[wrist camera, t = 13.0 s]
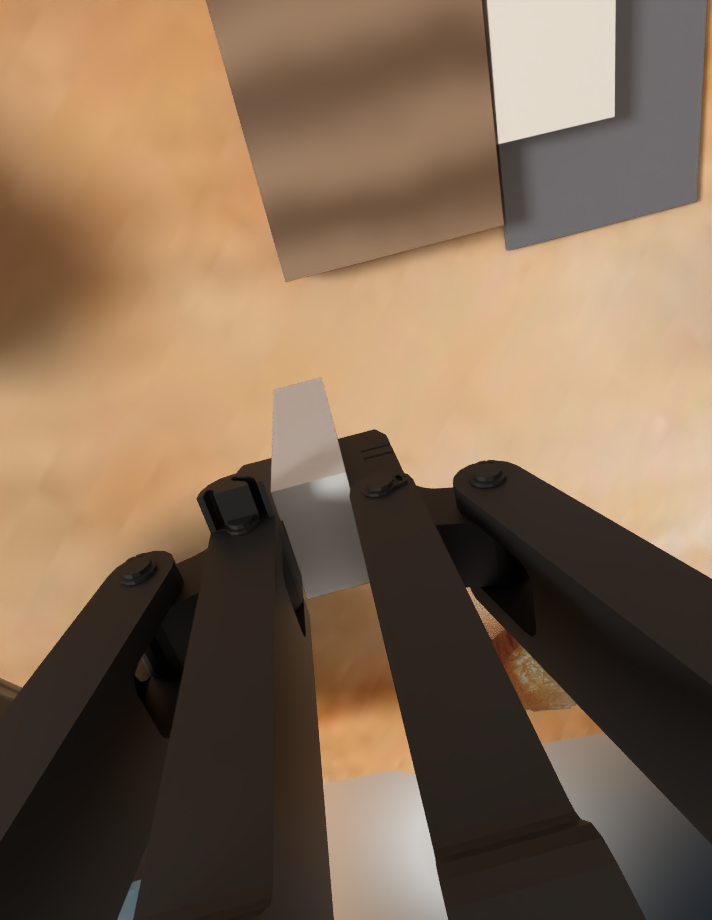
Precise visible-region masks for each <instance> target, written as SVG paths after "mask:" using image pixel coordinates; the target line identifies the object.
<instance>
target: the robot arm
mask: <svg viewBox="0 0 712 920" xmlns="http://www.w3.org/2000/svg"><path fill="white" fill-rule="evenodd" d="M196 499H197V501H198V503H199V506H200V508H201V511H202V513H203V515H204V518H205V520H206V523H207V525H208V527H209V530H210V532H211V535H210V540H209V545H208V549H206V550H205V551H203V552H201V553H199V554H197V555H196V556H194V557H191V558H189V559H187V560H185V561H183V562H180V563H178V564H176V563H175V561H174V558H173V556H172V554H170V553H168V552H166V551H152V552H148V553H142V554H139V555H136V557H132V558H130V559H128V560H127V561H126V562H125V563H123V564H122V565H120V566H119V567H117V568H116V569H115V570H114V571H113V572H112V573H111V574H110V575H109V576H108V577H107V578H106V580H105V581H104V582H103V584H102V585H101V586H100V588H99V589H98V590H97V591H96V593H95V594H94V595H93V597H92V598H91V599H90V601H89V602H88V603H87V605H86V606H85V607H84V608H83V610H82V611H81V612H80V614H79V615H78V616H77V618H76V619H75V620H74V621H73V623H72V624H71V625H70V627H69V628H68V629H67V631H66V632H65V633H64V634H63V636H62V637H61V638H60V640H59V641H58V642H57V644H56V645H55V646H54V647H53V649H52V650H51V651H50V653H49V654H48V655H47V657H46V658H45V659H44V660H43V662H42V663H41V664H40V666H39V667H38V668H37V670H36V671H35V672H34V674H33V675H32V676H31V677H30V679H29V680H28V681H27V683H26V684H25V685H24V687H23V688H22V687H20V686H17V685H15V684H13V683H10V682H8V681H6V680H3V679H1V678H0V920H334V917H333V904H332V892H331V879H330V867H329V854H328V842H327V831H326V830H327V829H326V817H325V805H324V792H323V779H322V767H321V754H320V742H319V729H318V717H317V704H316V692H315V679H314V667H313V654H312V642H311V629H310V617H309V612H308V610H307V607H306V604H305V601H304V598H303V589H302V585H303V588H304V590H305V593H306V596H307V599H311V598H315V597H318V596H322V595H326V594H329V593H333V592H337V591H341V590H344V589H348V588H352V587H355V586H359V585H363V584H367V583H370V585H371V589H372V594H373V598H374V602H375V606H376V610H377V615H378V619H379V623H380V627H381V631H382V635H383V640H384V644H385V648H386V652H387V656H388V661H389V665H390V669H391V673H392V677H393V682H394V686H395V690H396V694H397V698H398V703H399V707H400V711H401V715H402V719H403V723H404V728H405V732H406V736H407V740H408V744H409V749H410V753H411V757H412V761H413V765H414V770H415V774H416V778H417V782H418V786H419V790H420V795H421V799H422V803H423V807H424V811H425V816H426V820H427V823H428V828H429V832H430V837H431V841H432V845H433V849H434V854H435V859H436V867H437V872H438V877H439V881H440V886H441V890H442V895H443V899H444V903H445V907H446V912H447V916H448V920H646V919H645V917H644V915H643V912H642V911H641V909H640V907H639V905H638V903H637V901H636V899H635V897H634V895H633V893H632V891H631V889H630V887H629V885H628V883H627V881H626V880H625V877H624V875H623V874H622V872H621V870H620V868H619V866H618V864H617V862H616V860H615V859H614V857H613V855H612V853H611V851H610V850H609V848H608V846H607V844H606V843H605V841H604V839H603V837H602V836H601V835H600V834H599V832H598V831H597V829H596V828H595V827H594V826H593V824H592V823H591V822H588V821H585V820H582V819H580V817H579V816H578V815H577V813H576V812H575V811H574V809H573V807H572V805H571V803H570V801H569V799H568V798H567V795H566V793H565V791H564V790H563V787H562V785H561V783H560V781H559V779H558V777H557V775H556V773H555V771H554V769H553V767H552V764H551V762H550V761H549V759H548V756H547V754H546V752H545V750H544V748H543V746H542V744H541V742H540V740H539V738H538V736H537V734H536V732H535V729H534V727H533V725H532V723H531V721H530V719H529V717H528V715H527V713H526V711H525V709H524V707H523V705H522V703H521V701H520V699H519V697H518V695H517V692H516V690H515V688H514V686H513V684H512V682H511V680H510V678H509V676H508V674H507V672H506V670H505V668H504V666H503V664H502V662H501V660H500V657H499V655H498V653H497V651H496V649H495V647H494V645H493V643H492V641H491V639H490V637H489V635H488V633H487V631H486V629H485V627H484V625H483V623H482V620H481V618H480V616H479V614H478V612H477V610H476V608H475V606H474V604H473V602H472V600H471V598H470V596H469V594H468V592H467V590H466V588H465V587H471V591H472V593H473V595H474V596H475V598H476V599H477V600H478V601H479V602H480V603H481V604H482V605H483V606H484V607H485V608H486V609H487V611H488V612H489V613H490V614H491V615H492V616H493V617H494V618H495V619H496V620H497V621H498V622H499V623H500V624H501V625H502V626H503V627H504V628H505V629H506V630H507V631H508V632H509V633H510V635H511V636H512V637H513V638H514V639H515V640H516V641H517V642H518V643H519V644H520V645H521V646H522V647H523V648H524V649H525V650H526V651H527V652H528V653H529V654H530V655H531V656H532V657H533V659H534V660H535V661H536V662H537V663H538V664H539V665H540V666H541V667H542V668H543V669H544V670H545V671H546V672H547V673H548V674H549V675H550V676H551V677H552V678H553V679H554V680H555V681H556V683H557V684H558V685H559V686H560V687H561V688H562V689H563V690H564V691H565V692H566V693H567V694H568V695H569V696H570V697H571V698H572V699H573V700H574V701H575V702H576V703H577V704H578V705H579V707H580V708H581V709H582V710H583V711H584V712H585V713H586V714H587V715H588V716H589V717H590V718H591V719H592V720H593V721H594V722H595V723H596V724H597V725H598V726H599V727H600V728H601V729H602V731H603V732H604V733H605V734H606V735H607V736H608V737H609V738H610V739H611V740H612V741H613V742H614V743H615V744H616V745H617V746H618V747H619V748H620V749H621V750H622V751H623V752H624V753H625V755H627V757H628V758H629V759H630V760H631V761H632V762H633V763H634V764H635V765H636V766H637V767H638V768H639V769H640V770H641V771H642V772H643V773H644V774H645V775H646V776H647V777H648V778H649V780H650V781H651V782H652V783H653V784H654V785H655V786H656V787H657V788H658V789H659V790H660V791H661V792H662V793H663V794H664V795H665V796H666V797H667V798H668V799H669V800H670V802H671V803H672V804H673V805H674V806H675V807H676V808H677V809H678V810H679V811H680V812H681V813H682V814H683V815H684V816H685V817H686V818H687V819H688V820H689V821H690V822H691V823H692V824H693V826H694V827H696V829H698V831H699V832H700V833H701V834H702V835H703V836H704V837H705V838H706V839H707V840H708V841H709V842H710V843H711V844H712V579H711V578H709V577H708V576H706V575H704V574H702V573H701V572H699V571H697V570H696V569H694V568H692V567H690V566H689V565H687V564H685V563H684V562H682V561H680V560H678V559H677V558H675V557H673V556H672V555H670V554H668V553H666V552H665V551H663V550H661V549H660V548H658V547H656V546H654V545H653V544H651V543H649V542H648V541H646V540H644V539H642V538H641V537H639V536H637V535H636V534H634V533H632V532H630V531H629V530H627V529H625V528H624V527H622V526H620V525H618V524H617V523H615V522H613V521H612V520H610V519H608V518H606V517H605V516H603V515H601V514H600V513H598V512H596V511H594V510H593V509H591V508H589V507H587V506H586V505H584V504H582V503H581V502H579V501H577V500H575V499H574V498H572V497H570V496H569V495H567V494H565V493H563V492H562V491H560V490H558V489H557V488H555V487H553V486H551V485H550V484H548V483H546V482H545V481H543V480H541V479H539V478H538V477H536V476H534V475H533V474H531V473H529V472H527V471H526V470H524V469H522V468H521V467H519V466H517V465H514V464H512V463H509V462H504V461H495V460H487V461H480V462H478V463H475V464H472V465H469V466H467V467H465V468H463V469H461V470H460V471H459V472H458V473H457V474H456V475H455V476H454V479H453V488H438V489H430V488H422V487H419V486H416V485H415V483H414V481H413V479H412V478H411V477H410V476H409V475H408V474H405V473H404V472H403V470H402V468H401V466H400V463H399V461H398V459H397V457H396V455H395V453H394V451H393V449H392V447H391V445H390V442H389V440H388V438H387V436H386V435H385V434H383V433H381V432H379V431H377V430H375V429H374V430H370V431H367V432H363V433H359V434H355V435H351V436H348V437H344V438H340V439H338V437H337V433H336V430H335V426H334V422H333V418H332V415H331V411H330V407H329V403H328V400H327V396H326V392H325V388H324V385H323V381H322V377H321V378H317V379H313V380H309V381H305V382H301V383H298V384H294V385H290V386H286V387H282V388H279V389H275V390H273V427H272V458H270V459H266V460H262V461H259V462H255V463H251V464H247V465H243V466H242V467H241V468H240V470H239V471H238V472H237V473H236V474H233V475H230V476H227V477H224V478H221V479H219V480H217V481H215V482H213V483H211V484H210V485H208V486H207V487H206V488H205V489H203V490H202V491H201V492H200V494H199V495H198V497H197V498H196Z"/></svg>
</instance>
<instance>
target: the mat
mask: <svg viewBox="0 0 712 920" xmlns="http://www.w3.org/2000/svg"><path fill="white" fill-rule="evenodd" d="M706 12H707V0H616V15H615V117H612V118H607V119H603V120H599V121H595V122H590V123H586V124H582V125H578V126H573V127H569V128H565V129H561V130H557V131H552V132H548V133H544V134H540V135H535V136H531V137H527V138H523V139H518V140H514V141H510V142H506V143H501V144H497V145H496V151H497V161H498V171H499V181H500V192H501V202H502V212H503V222H504V235H505V245H506V250H513V249H517V248H521V247H525V246H528V245H532V244H536V243H540V242H544V241H548V240H551V239H555V238H559V237H563V236H567V235H571V234H574V233H578V232H582V231H586V230H590V229H594V228H597V227H601V226H605V225H609V224H613V223H617V222H620V221H624V220H628V219H632V218H636V217H640V216H643V215H647V214H651V213H655V212H659V211H663V210H666V209H670V208H674V207H678V206H682V205H686V204H689V203H693V202H697V184H698V164H699V145H700V126H701V107H702V88H703V69H704V50H705V31H706Z"/></svg>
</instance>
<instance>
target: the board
mask: <svg viewBox="0 0 712 920" xmlns="http://www.w3.org/2000/svg"><path fill="white" fill-rule="evenodd" d="M206 3H207V6H208V10H209V13H210V17H211V20H212V24H213V27H214V31H215V34H216V38H217V41H218V45H219V49H220V52H221V56H222V59H223V63H224V66H225V70H226V73H227V77H228V80H229V84H230V87H231V91H232V95H233V98H234V102H235V105H236V109H237V112H238V116H239V119H240V123H241V126H242V130H243V133H244V137H245V140H246V144H247V148H248V151H249V155H250V158H251V162H252V165H253V169H254V172H255V176H256V179H257V183H258V186H259V190H260V194H261V197H262V201H263V204H264V208H265V211H266V215H267V218H268V222H269V225H270V229H271V232H272V236H273V239H274V243H275V247H276V250H277V254H278V257H279V261H280V264H281V268H282V271H283V275H284V278H285V282H288V281H292V280H296V279H300V278H304V277H307V276H311V275H315V274H319V273H323V272H327V271H330V270H334V269H338V268H342V267H346V266H350V265H353V264H357V263H361V262H365V261H369V260H372V259H376V258H380V257H384V256H388V255H392V254H395V253H399V252H403V251H407V250H411V249H415V248H418V247H422V246H426V245H430V244H434V243H438V242H441V241H445V240H449V239H453V238H457V237H460V236H464V235H468V234H472V233H476V232H480V231H483V230H487V229H491V228H495V227H499V226H503V225H504V222H503V212H502V202H501V192H500V181H499V171H498V161H497V151H496V141H495V131H494V121H493V110H492V100H491V90H490V80H489V70H488V60H487V49H486V39H485V29H484V19H483V9H482V0H206Z"/></svg>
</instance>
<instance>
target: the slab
mask: <svg viewBox="0 0 712 920" xmlns="http://www.w3.org/2000/svg"><path fill="white" fill-rule="evenodd" d="M482 9H483V19H484V29H485V39H486V49H487V60H488V70H489V80H490V90H491V100H492V110H493V121H494V131H495V141H496V145H497V144H501V143H506V142H510V141H514V140H518V139H523V138H527V137H531V136H535V135H540V134H544V133H548V132H552V131H557V130H561V129H565V128H569V127H573V126H578V125H582V124H586V123H590V122H595V121H599V120H603V119H607V118H612V117H615V15H616V0H482Z"/></svg>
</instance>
